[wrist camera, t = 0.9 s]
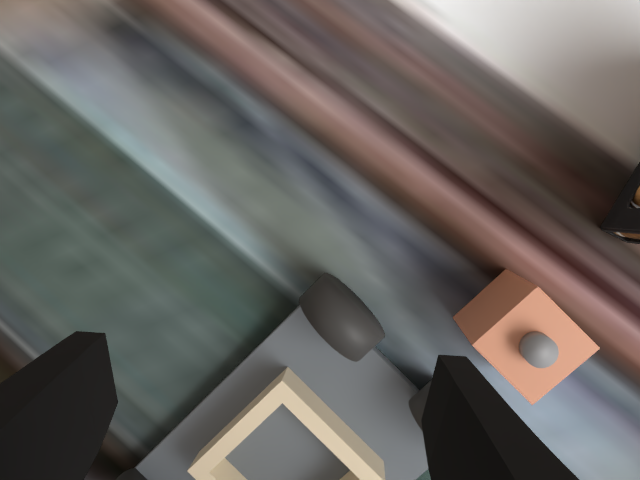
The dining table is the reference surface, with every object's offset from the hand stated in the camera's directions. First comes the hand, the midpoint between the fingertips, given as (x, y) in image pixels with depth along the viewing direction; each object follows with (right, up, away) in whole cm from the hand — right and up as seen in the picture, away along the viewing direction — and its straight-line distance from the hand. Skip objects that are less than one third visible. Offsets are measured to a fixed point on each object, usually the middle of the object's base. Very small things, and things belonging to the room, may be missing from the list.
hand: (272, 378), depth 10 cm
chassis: (-1, -11, +20) cm, 23 cm away
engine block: (+12, -2, +17) cm, 21 cm away
